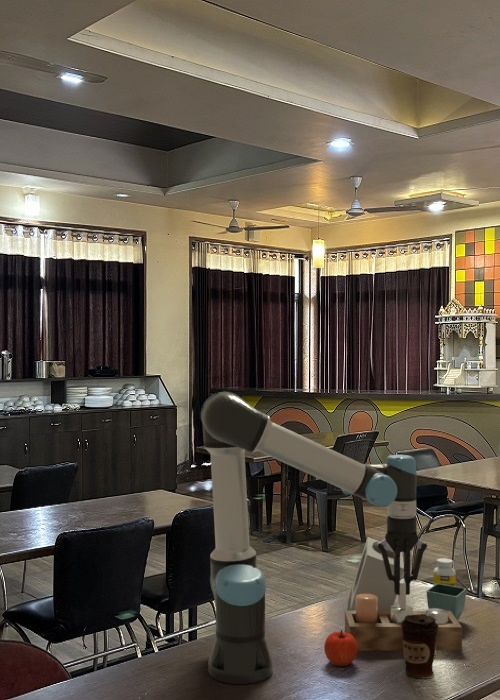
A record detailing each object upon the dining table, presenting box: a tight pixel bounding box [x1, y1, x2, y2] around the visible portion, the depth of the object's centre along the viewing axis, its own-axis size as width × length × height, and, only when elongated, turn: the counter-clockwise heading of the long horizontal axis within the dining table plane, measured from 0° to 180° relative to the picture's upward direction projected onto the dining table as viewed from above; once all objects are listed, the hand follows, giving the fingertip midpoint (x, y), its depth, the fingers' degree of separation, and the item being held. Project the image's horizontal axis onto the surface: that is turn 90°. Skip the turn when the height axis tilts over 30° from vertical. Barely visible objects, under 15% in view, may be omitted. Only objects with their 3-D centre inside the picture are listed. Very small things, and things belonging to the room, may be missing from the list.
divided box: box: [344, 610, 463, 652], centre depth 203 cm, size 28×12×6 cm, turn 89°
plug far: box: [425, 608, 448, 624], centre depth 203 cm, size 6×6×7 cm
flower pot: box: [426, 584, 467, 622], centre depth 218 cm, size 9×9×9 cm
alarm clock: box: [347, 536, 404, 611], centre depth 225 cm, size 20×16×20 cm
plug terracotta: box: [356, 594, 378, 623], centre depth 203 cm, size 6×6×7 cm
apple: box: [323, 629, 359, 667], centre depth 189 cm, size 8×8×8 cm
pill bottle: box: [433, 557, 457, 587], centre depth 238 cm, size 6×6×12 cm
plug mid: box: [391, 603, 414, 623], centre depth 203 cm, size 6×6×7 cm
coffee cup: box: [402, 614, 438, 679], centre depth 183 cm, size 9×8×13 cm
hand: (402, 606), depth 203 cm, fingers closed
